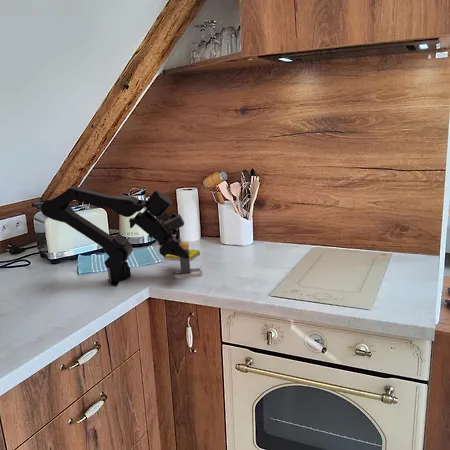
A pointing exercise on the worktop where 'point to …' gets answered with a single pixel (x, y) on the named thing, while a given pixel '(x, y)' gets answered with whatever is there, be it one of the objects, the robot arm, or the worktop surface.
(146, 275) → the worktop surface
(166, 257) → the emergency button
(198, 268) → the breaker panel
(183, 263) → the toggle
